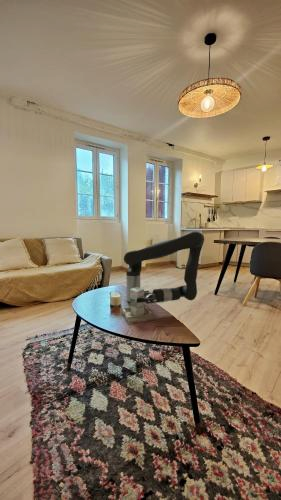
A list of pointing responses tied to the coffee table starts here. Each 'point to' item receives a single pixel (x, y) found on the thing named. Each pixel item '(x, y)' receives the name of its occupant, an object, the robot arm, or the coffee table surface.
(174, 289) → the robot arm
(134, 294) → the syrup box
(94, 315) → the coffee table surface
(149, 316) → the wooden tray
